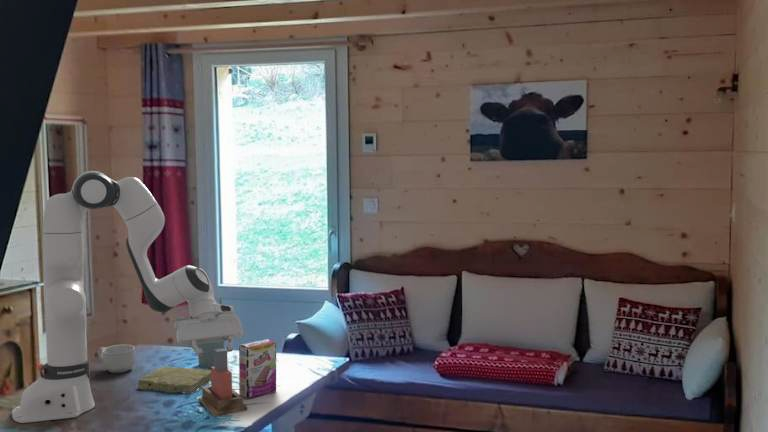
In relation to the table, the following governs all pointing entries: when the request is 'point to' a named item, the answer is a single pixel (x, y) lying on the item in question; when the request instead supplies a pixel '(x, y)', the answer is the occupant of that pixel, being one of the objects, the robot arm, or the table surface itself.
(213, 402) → the brown wooden tray
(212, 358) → the grey cup
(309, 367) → the table surface
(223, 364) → the pink and grey block
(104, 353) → the teacup
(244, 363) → the candy bar box
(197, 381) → the decorative tile
